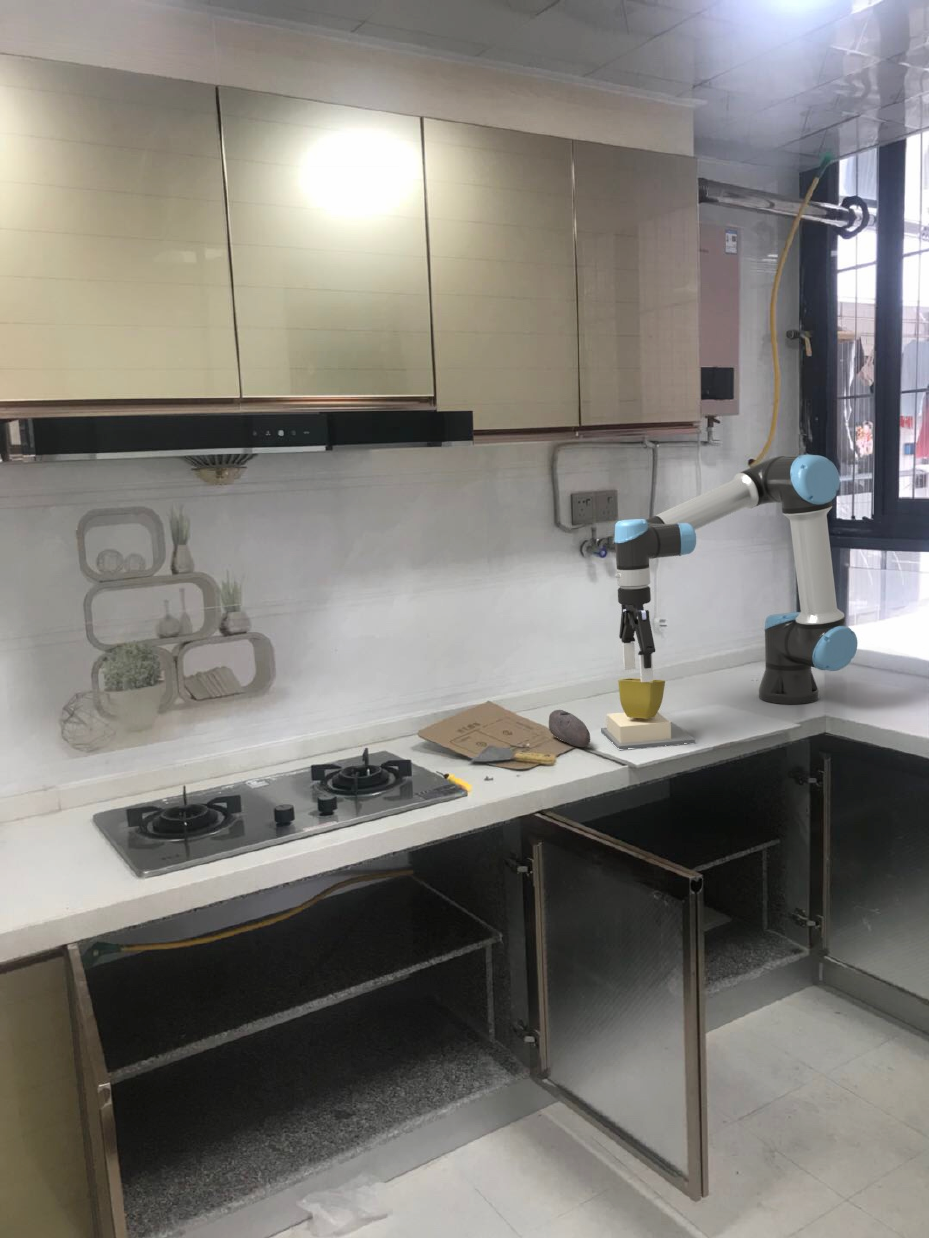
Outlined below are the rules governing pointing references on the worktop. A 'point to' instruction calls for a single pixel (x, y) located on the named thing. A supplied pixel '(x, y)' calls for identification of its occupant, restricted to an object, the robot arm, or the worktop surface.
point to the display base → (674, 739)
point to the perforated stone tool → (569, 728)
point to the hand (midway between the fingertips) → (638, 675)
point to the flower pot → (641, 697)
